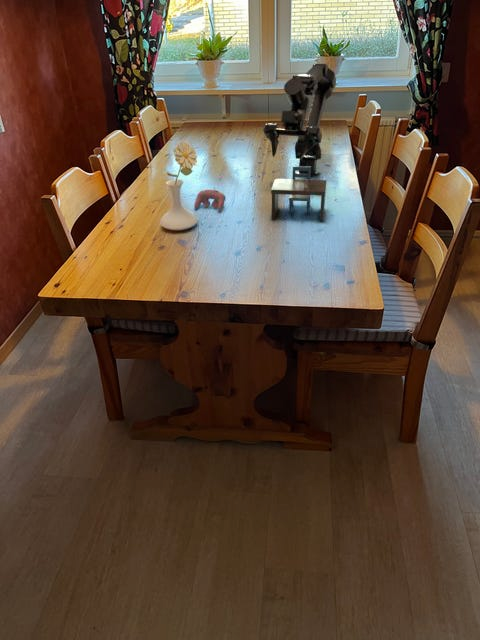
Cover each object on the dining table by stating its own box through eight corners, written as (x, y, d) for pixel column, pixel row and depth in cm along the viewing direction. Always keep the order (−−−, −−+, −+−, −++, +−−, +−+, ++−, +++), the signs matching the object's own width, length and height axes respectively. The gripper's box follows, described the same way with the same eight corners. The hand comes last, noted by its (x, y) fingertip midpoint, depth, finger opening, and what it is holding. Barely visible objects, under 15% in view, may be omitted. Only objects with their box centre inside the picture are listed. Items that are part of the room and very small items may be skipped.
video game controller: (225, 213, 164) (227, 191, 162) (220, 212, 159) (223, 189, 158) (197, 210, 166) (200, 189, 165) (192, 209, 162) (194, 187, 161)
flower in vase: (168, 237, 146) (158, 151, 132) (155, 223, 155) (144, 141, 141) (208, 227, 151) (202, 143, 137) (194, 214, 159) (187, 134, 145)
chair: (290, 205, 163) (291, 165, 156) (310, 206, 162) (312, 166, 155) (288, 213, 158) (289, 172, 151) (308, 213, 157) (310, 173, 150)
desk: (275, 208, 162) (275, 178, 156) (324, 210, 159) (326, 180, 154) (271, 220, 154) (271, 189, 148) (323, 222, 151) (325, 191, 146)
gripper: (264, 97, 159) (252, 143, 157) (321, 100, 152) (309, 147, 151) (273, 116, 169) (262, 159, 168) (326, 119, 163) (315, 164, 161)
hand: (286, 157), depth 162 cm, fingers open, 9 cm apart
